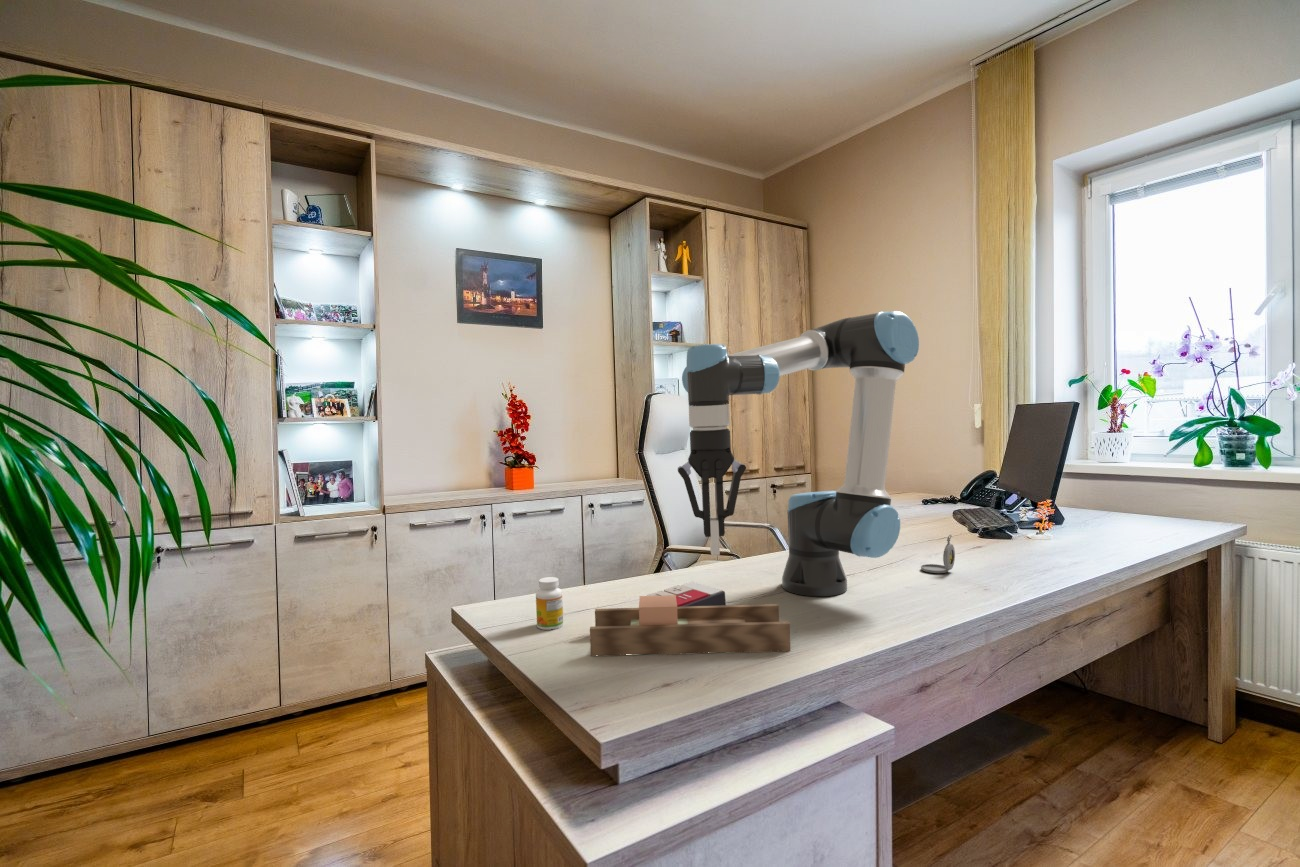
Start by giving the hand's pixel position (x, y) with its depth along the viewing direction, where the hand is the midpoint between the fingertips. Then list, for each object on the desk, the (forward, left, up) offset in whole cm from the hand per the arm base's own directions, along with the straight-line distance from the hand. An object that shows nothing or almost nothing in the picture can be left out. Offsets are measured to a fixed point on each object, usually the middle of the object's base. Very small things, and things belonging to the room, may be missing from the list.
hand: (715, 553), depth 121 cm
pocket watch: (-61, -44, -17) cm, 77 cm away
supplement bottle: (+33, -11, -17) cm, 39 cm away
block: (+11, 0, -14) cm, 18 cm away
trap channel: (+5, 0, -17) cm, 18 cm away
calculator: (+5, -20, -17) cm, 27 cm away
